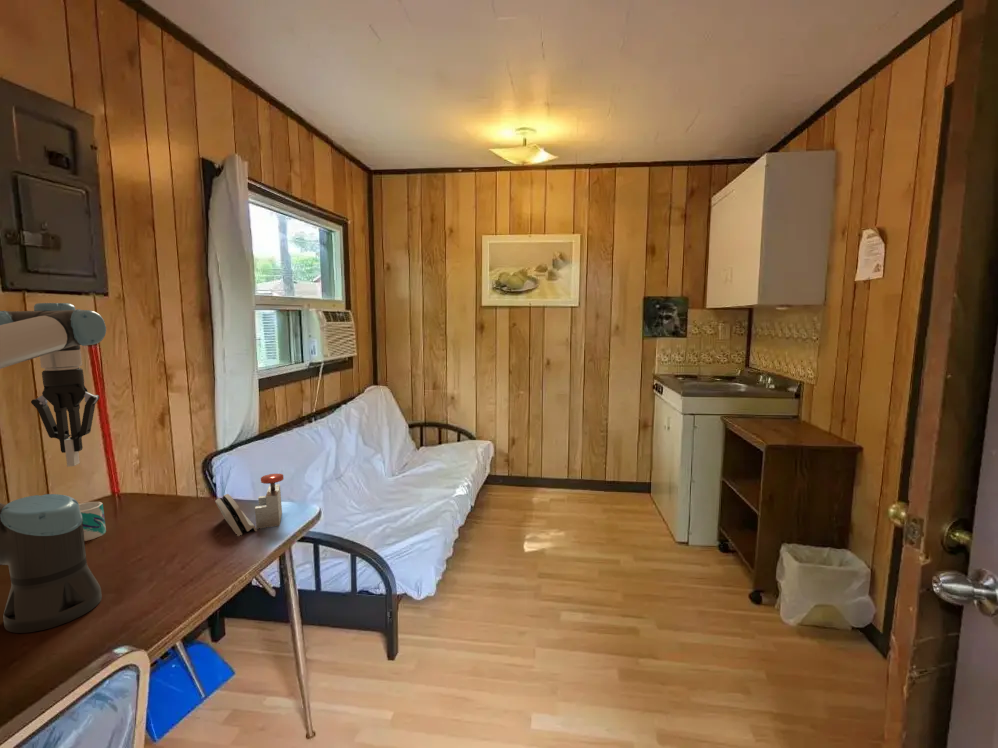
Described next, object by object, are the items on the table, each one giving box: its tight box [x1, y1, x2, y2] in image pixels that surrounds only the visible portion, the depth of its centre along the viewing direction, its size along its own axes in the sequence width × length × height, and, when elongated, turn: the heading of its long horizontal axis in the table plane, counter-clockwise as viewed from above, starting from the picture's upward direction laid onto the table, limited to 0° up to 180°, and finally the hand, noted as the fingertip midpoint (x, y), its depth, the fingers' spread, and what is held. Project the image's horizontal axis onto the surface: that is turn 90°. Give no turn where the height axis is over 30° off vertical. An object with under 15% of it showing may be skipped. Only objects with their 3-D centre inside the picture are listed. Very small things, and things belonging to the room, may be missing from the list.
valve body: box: [254, 473, 284, 530], centre depth 148 cm, size 10×8×13 cm
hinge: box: [214, 493, 258, 537], centre depth 145 cm, size 17×5×10 cm, turn 40°
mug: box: [78, 501, 107, 542], centre depth 142 cm, size 8×12×8 cm
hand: (73, 464), depth 124 cm, fingers closed
